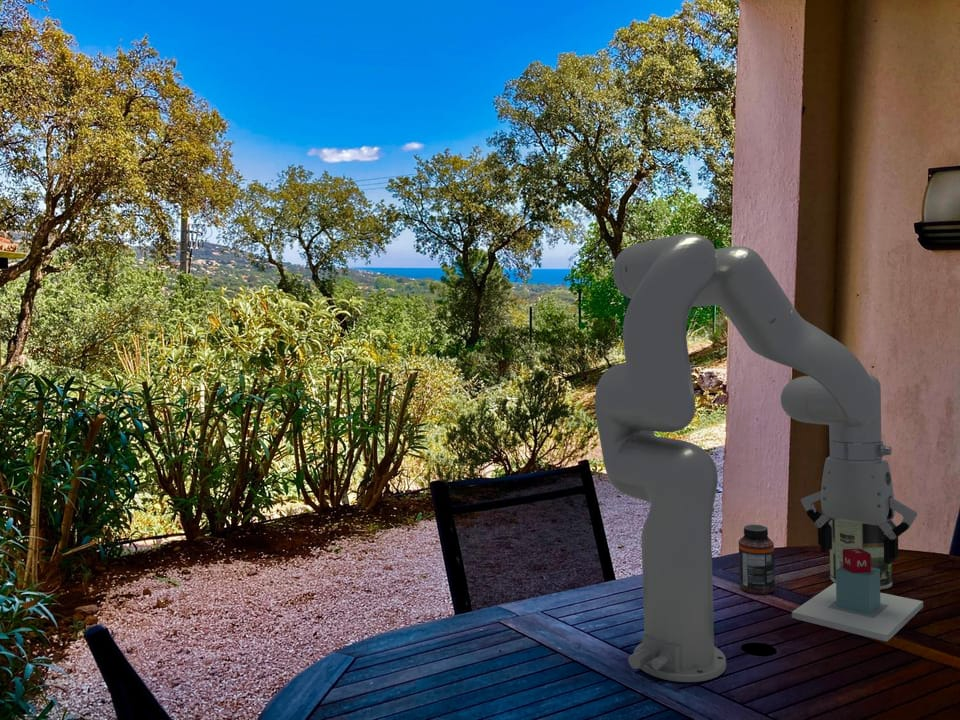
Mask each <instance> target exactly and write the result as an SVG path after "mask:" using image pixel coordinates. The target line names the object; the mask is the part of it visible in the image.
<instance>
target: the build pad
mask: <svg viewBox="0 0 960 720" xmlns="http://www.w3.org/2000/svg"><path fill="white" fill-rule="evenodd" d="M923 608H924V601H923V600H919V599H914V598H910V597H903V596H898V595H893V594H889V593H885V592H884V593H883V592H880V606H879V607H878V608H877V609H875V610H874V611H873V612H872V613H870V614H866V613H862V612H858V611H853V610H849V609H845V608H840V607H837V605H836V583H835V582H833V583H832V584H831V585H829V586H828V587H826V588H825V589H823V590H822V591H820V592H819V593H817V594H816V595H814V596H813V597H812V598H810V599H809V600H807V601H805V602H804V603H803V604H801V605H800V606H798V607H797V608H795V609H794V610H792V611H791V618H792V619H794V618H795V619H794V620H797V621H803V622H807V623H811V624H814V625H819V626H823V627H826V628H831V629H833V630H837V631H843V632H847V633H850V634H853V635H859V636H863V637H866V638H870V639H874V640H878V641H882V642H887V643H888V642H889V640H891V639H892V637H894V636H895V635H896V634H897V633H898V632H899V631H900V630H902V628H903V627H904V626H905V625H907V624H908V623H909V621H911V619H913V618H914V617H915V616H916V615H917V614H918V613H919V612H920V611H922V609H923Z"/></svg>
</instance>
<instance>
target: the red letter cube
mask: <svg viewBox="0 0 960 720" xmlns="http://www.w3.org/2000/svg"><path fill="white" fill-rule="evenodd" d="M843 568H845V569H847V570H849V571H850V572H852V573H864V572H871V554H870V553H868V552H866V551H864V550H862V549H843Z"/></svg>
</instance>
